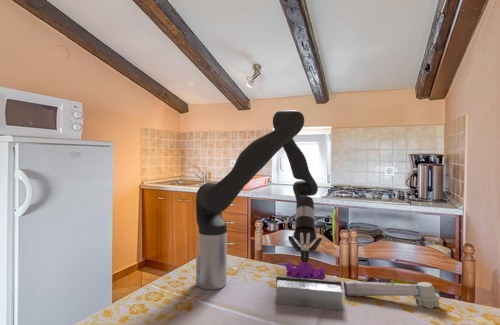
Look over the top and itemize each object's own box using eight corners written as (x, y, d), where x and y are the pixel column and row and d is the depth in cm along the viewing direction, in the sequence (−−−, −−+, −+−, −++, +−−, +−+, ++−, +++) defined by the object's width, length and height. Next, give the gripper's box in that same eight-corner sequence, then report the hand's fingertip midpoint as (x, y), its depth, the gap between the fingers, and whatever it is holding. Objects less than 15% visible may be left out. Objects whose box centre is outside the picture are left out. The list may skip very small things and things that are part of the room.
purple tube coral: (308, 285, 100) (325, 265, 99) (310, 306, 85) (330, 283, 84) (283, 264, 102) (299, 244, 101) (280, 282, 87) (299, 258, 86)
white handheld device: (343, 277, 90) (433, 276, 83) (346, 299, 89) (436, 299, 82) (343, 285, 85) (440, 284, 77) (346, 307, 84) (443, 309, 77)
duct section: (274, 303, 81) (274, 283, 81) (276, 293, 86) (276, 275, 86) (343, 310, 77) (343, 290, 77) (341, 300, 83) (341, 281, 83)
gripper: (287, 214, 111) (285, 256, 99) (322, 215, 108) (324, 258, 96) (288, 224, 116) (286, 265, 104) (321, 226, 113) (323, 268, 102)
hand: (304, 262), depth 100 cm, fingers closed
